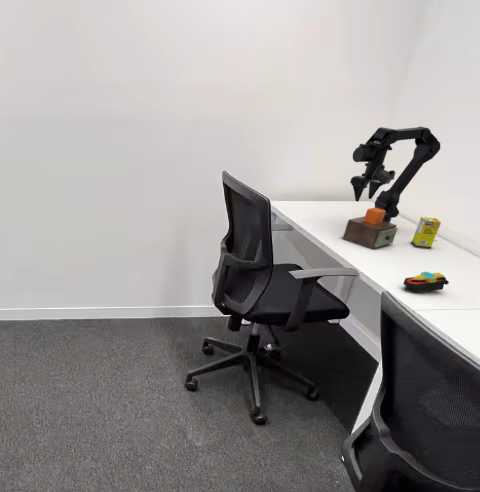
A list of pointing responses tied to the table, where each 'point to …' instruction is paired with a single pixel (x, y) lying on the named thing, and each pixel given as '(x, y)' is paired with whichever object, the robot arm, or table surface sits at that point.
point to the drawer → (385, 237)
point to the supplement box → (426, 232)
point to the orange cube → (374, 216)
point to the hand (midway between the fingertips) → (363, 200)
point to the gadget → (425, 282)
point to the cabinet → (364, 231)
